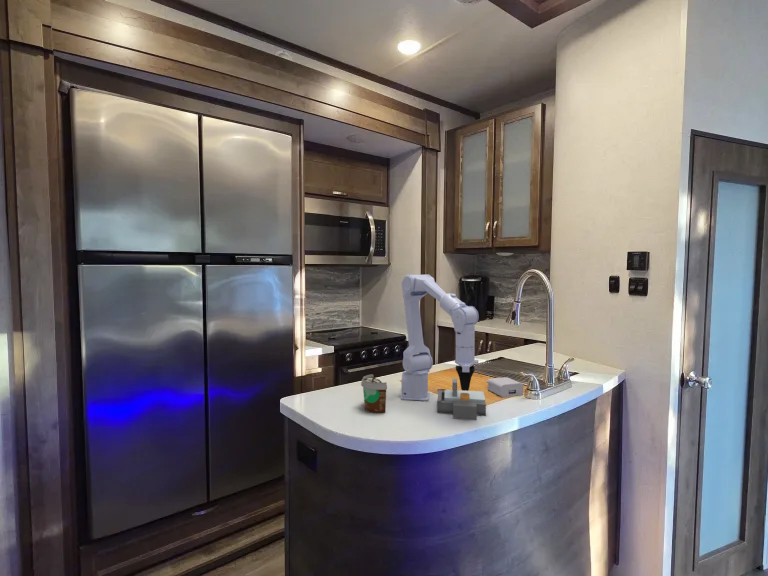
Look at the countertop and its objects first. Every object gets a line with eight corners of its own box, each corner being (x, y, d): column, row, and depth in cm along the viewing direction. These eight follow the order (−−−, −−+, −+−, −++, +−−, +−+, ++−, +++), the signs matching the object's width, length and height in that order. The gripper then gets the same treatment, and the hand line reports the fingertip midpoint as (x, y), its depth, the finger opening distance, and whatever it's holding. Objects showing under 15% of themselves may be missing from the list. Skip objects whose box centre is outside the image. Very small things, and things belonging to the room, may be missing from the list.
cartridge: (444, 408, 126) (444, 383, 125) (444, 399, 134) (444, 376, 134) (485, 410, 123) (485, 385, 123) (483, 401, 132) (483, 378, 132)
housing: (436, 417, 121) (436, 404, 120) (438, 400, 136) (438, 389, 136) (487, 420, 118) (487, 407, 118) (482, 403, 134) (482, 391, 134)
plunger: (460, 400, 120) (460, 395, 120) (460, 397, 122) (460, 392, 122) (469, 400, 119) (469, 395, 119) (469, 398, 122) (469, 392, 122)
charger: (499, 384, 157) (523, 395, 142) (479, 386, 154) (501, 398, 140) (500, 373, 157) (523, 382, 142) (479, 374, 154) (501, 385, 140)
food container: (355, 404, 133) (355, 375, 132) (372, 402, 135) (372, 373, 135) (369, 417, 121) (368, 385, 121) (387, 414, 124) (387, 382, 123)
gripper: (480, 350, 112) (480, 397, 113) (476, 342, 127) (476, 384, 127) (455, 350, 114) (455, 396, 114) (454, 341, 128) (454, 383, 128)
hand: (464, 389), depth 121 cm, fingers closed
